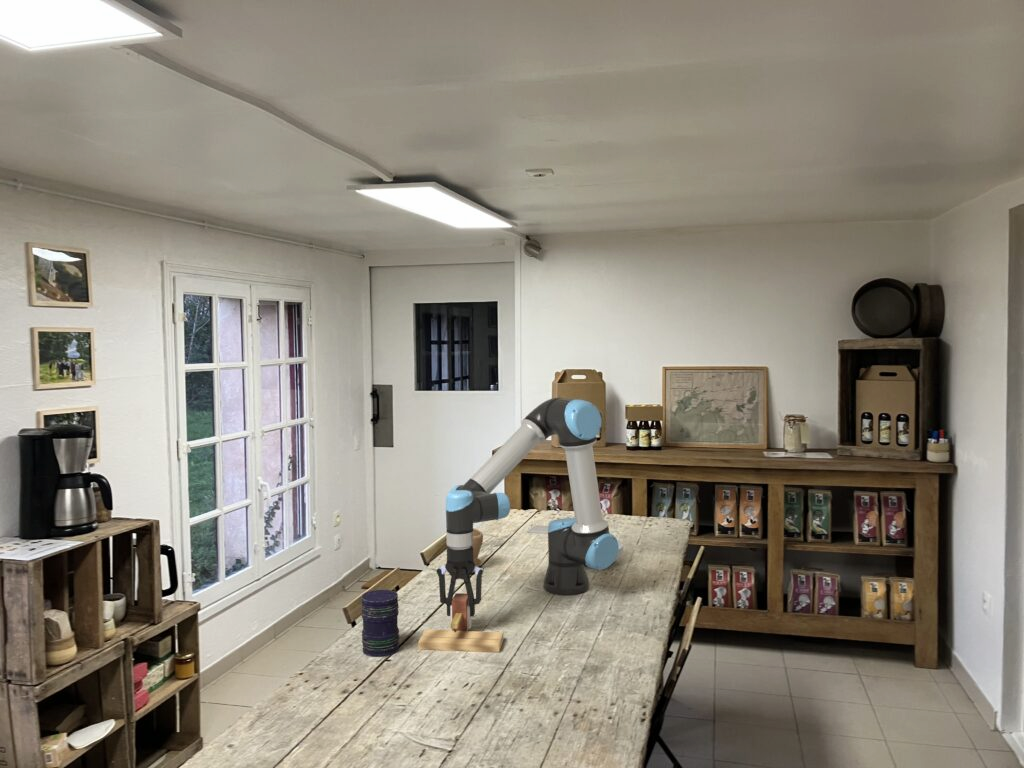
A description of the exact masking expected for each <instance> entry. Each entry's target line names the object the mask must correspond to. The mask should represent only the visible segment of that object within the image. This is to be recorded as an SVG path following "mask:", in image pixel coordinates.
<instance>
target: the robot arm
mask: <svg viewBox="0 0 1024 768" xmlns="http://www.w3.org/2000/svg"><path fill="white" fill-rule="evenodd" d="M601 415H602V414H601V413H600V410H599V409H598V408H597V406H596V405H595V404H593V403H592V402H590V401H587V400H583V399H579V398H578V399H577V398H576V399H575V398H574V399H573V398H562V397H553V398H549V399H547V400H545V401H543V402H542V403H540V404H539V405H537V406H536V407H535V408H534V409H533V410H531V412H529V413H528V414H527V415H526V416H525V417H524V418H523V419H522V420H521V426H520V427H519V428H518V429H517V430H515V432H514V433H513V434H512V435H511V436H510V437H509V438H508V439H507V440H506V441H505V442H504V443H503V444H502V445H501V447H499V449H498V450H496V452H495V453H493V455H491V456H490V458H488V460H487V461H486V462H484V464H483V465H482V466H481V467H479V469H478V470H477V471H476V472H475V473H474V474H473V475H472V476H471V477H470V478H469V479H468V480H467V481H466V482H465V483H464V484H462V485H461V484H460V485H455V486H453V487H452V488H451V489H450V491H449V492H447V494H446V495H445V496H446V497H445V509H444V510H445V518H446V519H445V521H446V522H445V524H446V525H445V526H446V537H445V538H446V542H445V543H446V546H447V547H446V563H445V565H442V566H438V567H437V569H436V574H437V577H438V584H439V602H440V603H441V604H445V605H446V615H447V616H448V617H450V623H451V622H452V599H453V598H454V595H455V588H456V583H457V580H459V579H460V580H463V583H464V587H465V590H466V591H465V592H466V594H467V596H468V600H469V603H468V606H467V629H468V630H470V629H471V628H472V617H473V618H474V616H475V614H476V605H480V603H481V601H482V589H483V588H482V584H483V583H482V581H483V578H482V577H483V574H484V571H485V568H484V567H480V566H479V567H477V566H475V563H474V560H473V547H472V545H473V528H474V524H478V523H483V522H489V521H498V520H501V519H505V518H506V517H508V516H509V514H510V512H511V501H510V498H509V496H508V495H507V494H506V493H504V492H492V491H494V490H495V489H496V487H497V486H498V485H500V483H501V482H503V480H504V479H505V478H506V477H507V476H508V475H509V474H510V473H511V472H512V471H513V469H515V468H516V467H517V466H518V465H519V463H520V462H521V461H522V460H524V458H525V457H526V456H527V455H529V454H530V452H531V451H533V449H534V448H535V447H536V446H537V445H538V444H539V443H544V442H545V441H546V440H547V439H548V438H549V437H552V436H554V435H557V438H558V443H559V447H560V448H562V449H563V450H564V451H565V459H566V463H567V464H566V465H567V472H568V479H569V485H570V493H571V499H572V506H573V514H574V517H566V518H565V517H564V518H556V519H553V520H551V521H550V522H549V523H548V525H547V526H548V534H547V545H548V548H547V549H548V552H547V553H548V555H547V556H548V560H547V561H548V564H547V568H546V571H545V574H544V578H543V584H542V585H543V590H544V591H545V592H548V593H550V594H554V595H562V596H570V595H571V596H572V595H579V594H583V593H586V592H587V591H588V590H590V581H589V578H588V574H587V572H586V568H585V567H587V568H589V569H595V570H599V571H600V570H605V569H607V568H609V567H610V566H611V565H612V564H613V563H615V561H614V559H615V558H616V556H617V554H618V548H619V545H618V539H617V537H616V536H615V535H614V534H611V533H610V529H609V523H608V521H607V520H605V519H604V518H603V513H602V506H601V498H600V491H599V484H598V475H597V469H596V462H595V455H594V449H593V446H594V444H595V443H597V436H598V434H600V430H601V428H602V425H603V424H602V421H603V420H602V416H601ZM473 570H474V572H473ZM446 571H447V572H448V574H449V575H450V580H449V581H450V582H449V588H448V593H447V592H446ZM472 572H473V573H474V574H475V576H476V579H475V581H476V582H475V594H474V590H473V587H472V581H471V575H472V574H473V573H472ZM446 593H447V594H446ZM474 595H475V596H474Z"/></svg>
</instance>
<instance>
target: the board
mask: <svg viewBox="0 0 1024 768" xmlns="http://www.w3.org/2000/svg"><path fill="white" fill-rule="evenodd" d="M503 642H504V632H503V631H501V632H500V631H498V632H497V631H477V630H476V631H473V630H472V631H471V630H469V631H468V630H467V631H457V632H454V631H452V630H445V629H444V630H442V629H425V630H424V631H423V634H422V635H421V636H420V638H419V640H418V641H417V649H418V650H421V651H422V650H424V651H445V652H446V651H450V652H451V651H453V652H475V653H477V652H479V653H500V652H501V648H502V645H503Z"/></svg>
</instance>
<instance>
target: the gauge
mask: <svg viewBox="0 0 1024 768" xmlns="http://www.w3.org/2000/svg"><path fill="white" fill-rule="evenodd" d="M468 603H469V600H468V596H467V593H462V592H461V593H458V592H457V593H454V595H453V599H452V622H451V621H450V629H451V631H454V632H457V631H468V630H469V629H467V606H468Z"/></svg>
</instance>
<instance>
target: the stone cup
mask: <svg viewBox="0 0 1024 768" xmlns="http://www.w3.org/2000/svg"><path fill="white" fill-rule="evenodd" d="M483 542H484V535H483V532H482V531H481V530H479V529H477V528H474V527H473V545H472V547H473V560H474V563H475V566H477V567H479V568H480V566H481V564H482V560H481V559H479V558H478V557H479V554H480V551H481V550H482V549H481V548H482V546H483ZM473 573H475V571H474V570H473V572H472V573H471V574H473Z"/></svg>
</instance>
